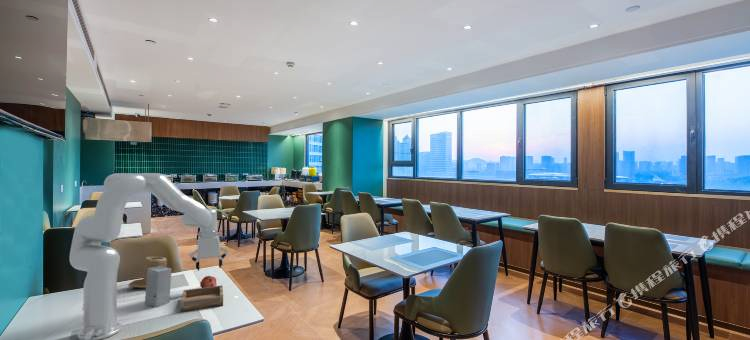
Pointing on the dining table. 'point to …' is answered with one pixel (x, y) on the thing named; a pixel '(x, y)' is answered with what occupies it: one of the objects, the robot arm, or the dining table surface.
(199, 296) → the walnut tray
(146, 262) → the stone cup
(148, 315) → the dining table surface
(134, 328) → the dining table surface
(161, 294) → the skincare box
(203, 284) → the pomegranate
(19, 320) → the dining table surface
